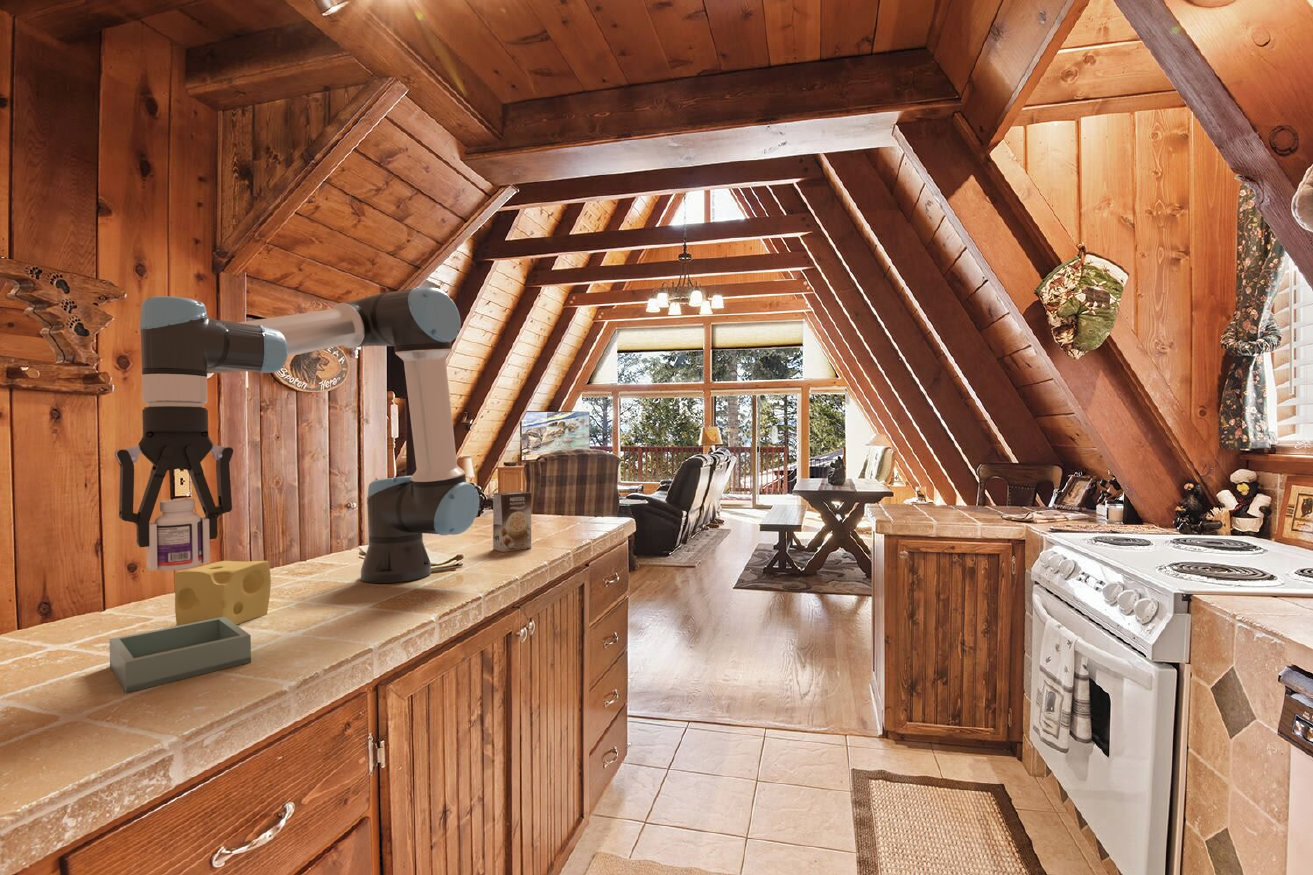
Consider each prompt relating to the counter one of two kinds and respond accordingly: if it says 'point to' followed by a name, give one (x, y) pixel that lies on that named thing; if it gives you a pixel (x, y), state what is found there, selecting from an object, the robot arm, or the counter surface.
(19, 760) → the counter surface
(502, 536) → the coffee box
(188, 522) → the pill bottle
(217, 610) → the cheese
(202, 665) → the tray
